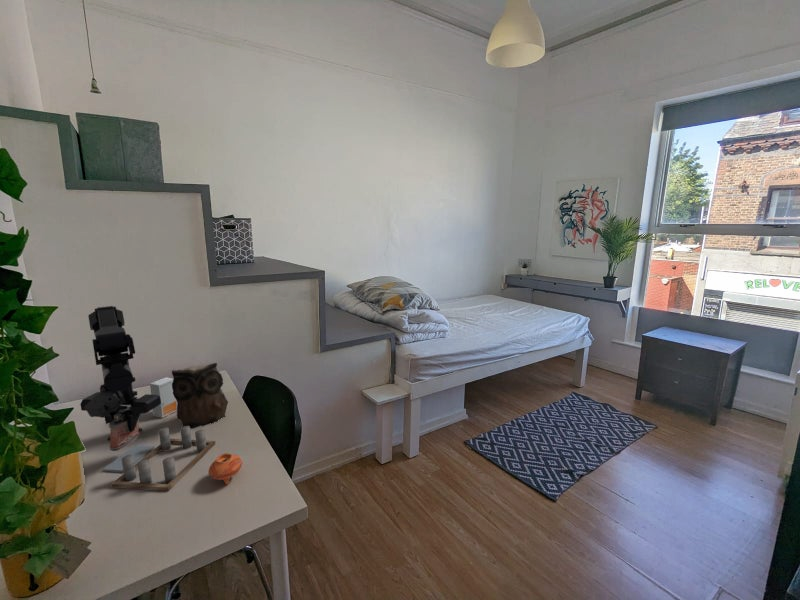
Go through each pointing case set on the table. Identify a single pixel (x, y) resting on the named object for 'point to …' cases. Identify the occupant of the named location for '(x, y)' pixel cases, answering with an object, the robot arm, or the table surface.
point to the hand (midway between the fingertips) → (125, 430)
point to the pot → (225, 467)
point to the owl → (199, 395)
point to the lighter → (121, 432)
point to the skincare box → (164, 397)
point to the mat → (136, 451)
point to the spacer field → (168, 463)
